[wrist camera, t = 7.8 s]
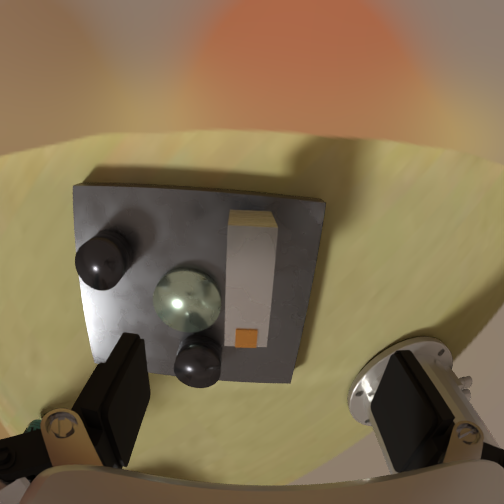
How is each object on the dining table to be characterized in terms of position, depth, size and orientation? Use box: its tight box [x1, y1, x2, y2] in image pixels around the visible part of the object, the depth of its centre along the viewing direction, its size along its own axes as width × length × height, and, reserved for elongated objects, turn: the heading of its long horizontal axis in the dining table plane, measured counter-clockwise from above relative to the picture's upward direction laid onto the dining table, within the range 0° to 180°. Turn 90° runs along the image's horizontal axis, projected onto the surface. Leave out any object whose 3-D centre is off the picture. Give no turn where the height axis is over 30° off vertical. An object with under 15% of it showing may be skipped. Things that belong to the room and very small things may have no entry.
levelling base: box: [73, 183, 326, 388], centre depth 22 cm, size 18×16×4 cm
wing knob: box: [224, 210, 278, 348], centre depth 19 cm, size 7×2×6 cm, turn 177°
